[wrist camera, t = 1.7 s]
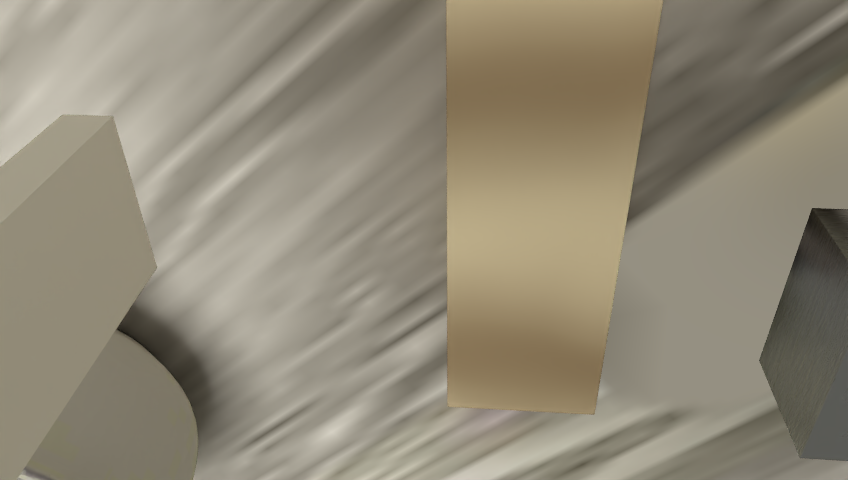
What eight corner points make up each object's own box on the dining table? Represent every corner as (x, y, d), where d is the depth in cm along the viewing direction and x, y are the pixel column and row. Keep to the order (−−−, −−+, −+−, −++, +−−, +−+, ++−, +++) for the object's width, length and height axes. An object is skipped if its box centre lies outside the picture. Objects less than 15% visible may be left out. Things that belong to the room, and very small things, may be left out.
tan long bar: (578, 298, 23) (594, 414, 19) (456, 294, 24) (447, 406, 20) (675, -452, 13) (754, -545, 9) (462, -442, 14) (444, -526, 9)
